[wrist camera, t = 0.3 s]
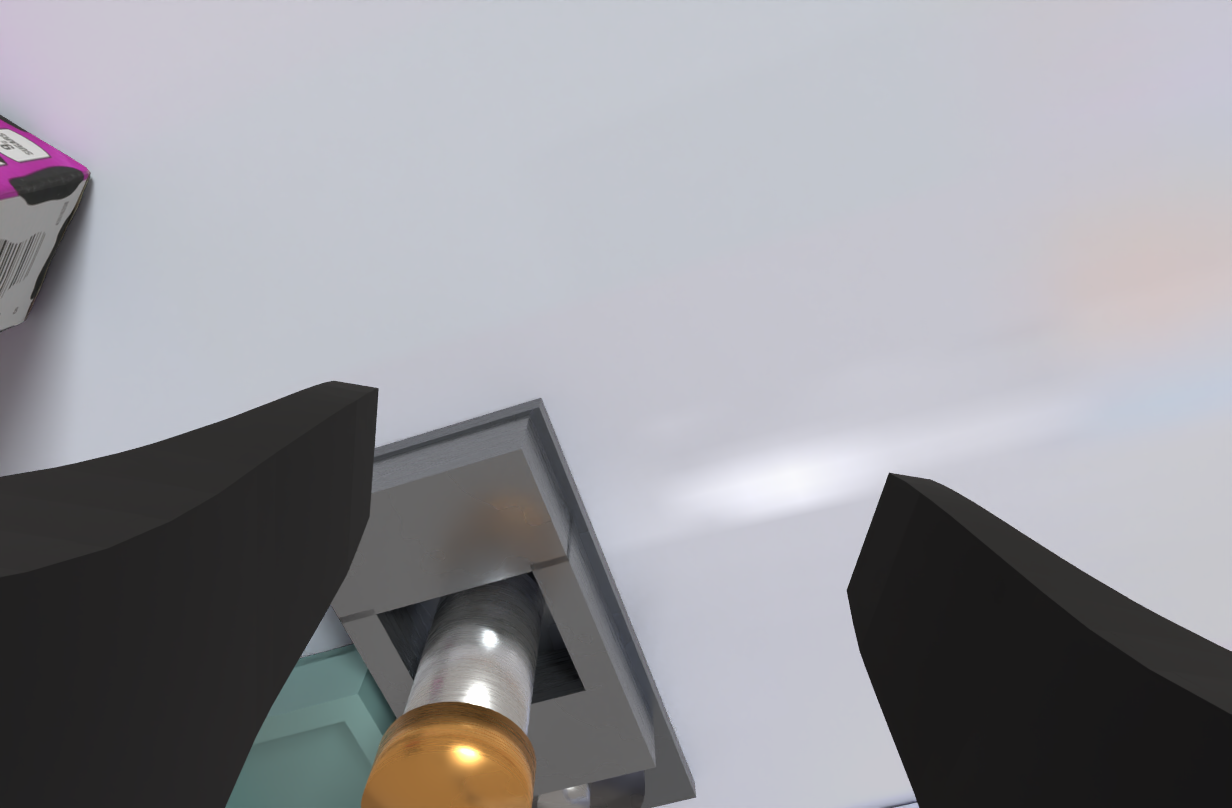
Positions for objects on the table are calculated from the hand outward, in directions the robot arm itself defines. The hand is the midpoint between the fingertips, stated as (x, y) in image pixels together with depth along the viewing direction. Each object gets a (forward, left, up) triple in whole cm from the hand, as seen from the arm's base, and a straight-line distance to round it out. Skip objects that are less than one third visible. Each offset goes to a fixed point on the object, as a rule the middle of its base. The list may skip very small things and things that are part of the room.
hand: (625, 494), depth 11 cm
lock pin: (-8, +7, -9) cm, 14 cm away
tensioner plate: (-10, +7, -10) cm, 15 cm away
